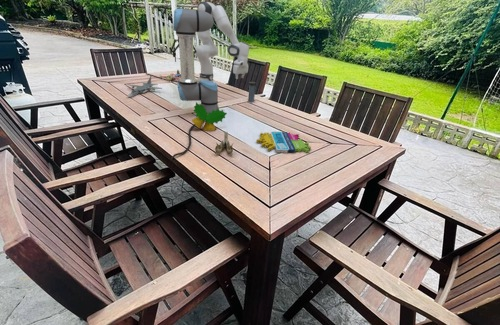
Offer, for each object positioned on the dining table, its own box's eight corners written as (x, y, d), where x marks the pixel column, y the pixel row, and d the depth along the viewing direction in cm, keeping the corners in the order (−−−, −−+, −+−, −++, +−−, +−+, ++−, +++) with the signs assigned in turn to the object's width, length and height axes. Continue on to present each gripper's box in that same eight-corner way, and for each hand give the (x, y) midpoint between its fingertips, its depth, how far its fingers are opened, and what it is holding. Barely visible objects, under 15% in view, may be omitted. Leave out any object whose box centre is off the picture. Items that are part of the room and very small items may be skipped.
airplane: (121, 87, 235) (119, 76, 230) (157, 85, 248) (156, 74, 243) (125, 100, 206) (123, 87, 201) (166, 97, 219) (165, 85, 214)
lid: (248, 85, 214) (248, 83, 213) (248, 83, 219) (248, 81, 218) (255, 85, 214) (255, 83, 213) (255, 84, 219) (255, 81, 218)
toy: (192, 71, 287) (179, 75, 261) (192, 77, 291) (180, 82, 265) (169, 68, 292) (154, 72, 266) (169, 75, 296) (155, 79, 270)
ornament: (218, 133, 171) (224, 110, 169) (221, 134, 163) (227, 111, 161) (186, 125, 162) (192, 101, 160) (189, 126, 155) (195, 101, 153)
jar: (248, 102, 221) (249, 83, 213) (248, 100, 225) (249, 82, 218) (254, 102, 221) (255, 83, 213) (254, 100, 226) (255, 82, 218)
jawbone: (234, 135, 144) (233, 125, 135) (233, 160, 138) (232, 151, 129) (217, 135, 144) (216, 125, 135) (216, 160, 138) (214, 150, 129)
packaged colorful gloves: (313, 150, 142) (258, 149, 139) (312, 153, 143) (258, 152, 140) (301, 132, 164) (254, 130, 161) (301, 134, 165) (254, 133, 162)
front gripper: (198, 33, 207) (199, 61, 218) (165, 31, 201) (168, 60, 211) (199, 33, 201) (200, 62, 211) (165, 32, 194) (168, 62, 205)
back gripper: (245, 61, 237) (242, 76, 244) (232, 61, 221) (230, 78, 227) (251, 62, 235) (248, 78, 241) (238, 63, 218) (236, 80, 225)
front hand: (184, 61), depth 211 cm, fingers open, 13 cm apart
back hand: (239, 78), depth 234 cm, fingers open, 8 cm apart
